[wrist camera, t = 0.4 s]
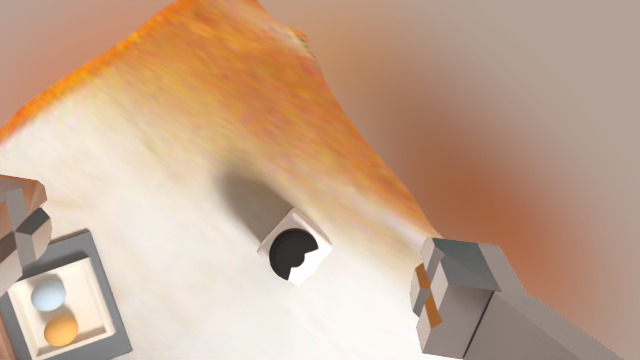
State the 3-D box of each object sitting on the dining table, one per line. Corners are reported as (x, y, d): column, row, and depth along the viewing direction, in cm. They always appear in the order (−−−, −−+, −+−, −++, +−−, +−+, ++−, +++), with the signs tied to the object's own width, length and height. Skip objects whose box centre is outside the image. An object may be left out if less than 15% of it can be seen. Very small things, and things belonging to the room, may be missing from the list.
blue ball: (76, 300, 60) (59, 309, 56) (48, 309, 59) (29, 319, 55) (66, 273, 59) (49, 280, 55) (38, 282, 59) (19, 290, 55)
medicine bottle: (260, 243, 62) (250, 259, 50) (294, 206, 62) (292, 213, 50) (297, 275, 62) (296, 300, 50) (330, 239, 62) (337, 254, 50)
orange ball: (88, 333, 60) (72, 345, 56) (60, 343, 60) (43, 355, 56) (78, 306, 60) (62, 316, 56) (50, 316, 59) (32, 326, 55)
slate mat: (132, 350, 61) (131, 351, 60) (-53, 415, 60) (-56, 418, 59) (90, 231, 61) (88, 231, 60) (-97, 295, 60) (-101, 296, 59)
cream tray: (116, 331, 60) (112, 335, 59) (39, 358, 60) (33, 362, 58) (90, 256, 60) (84, 258, 59) (12, 283, 60) (5, 285, 58)
